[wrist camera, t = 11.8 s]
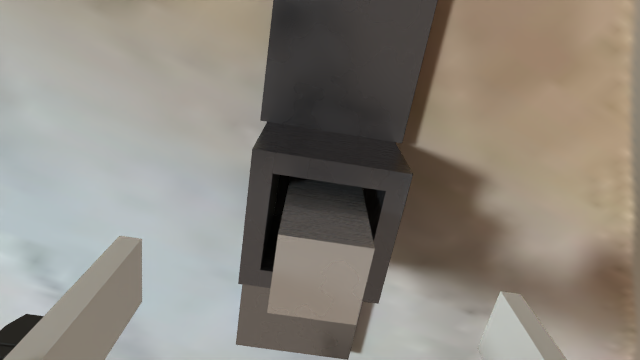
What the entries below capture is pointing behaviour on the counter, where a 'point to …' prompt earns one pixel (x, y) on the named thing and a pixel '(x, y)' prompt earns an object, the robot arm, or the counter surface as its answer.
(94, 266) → the robot arm
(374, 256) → the square socket bracket
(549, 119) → the counter surface
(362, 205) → the beige rectangular block
